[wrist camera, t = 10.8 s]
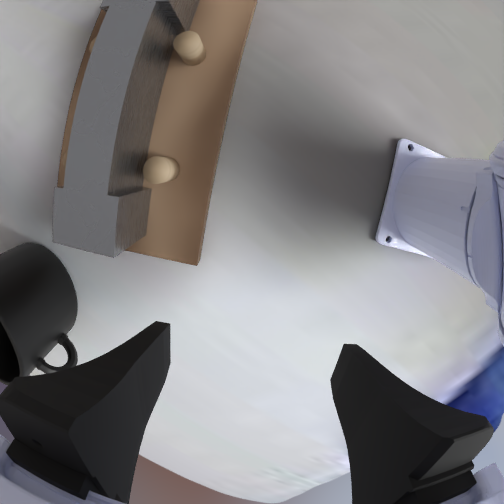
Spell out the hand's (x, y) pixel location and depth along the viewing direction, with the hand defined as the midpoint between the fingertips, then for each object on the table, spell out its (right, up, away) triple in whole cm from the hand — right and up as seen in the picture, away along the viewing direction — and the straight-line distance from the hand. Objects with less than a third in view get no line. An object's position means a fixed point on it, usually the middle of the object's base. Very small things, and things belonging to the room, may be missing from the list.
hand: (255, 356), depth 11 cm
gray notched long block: (-8, +14, +5) cm, 17 cm away
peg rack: (-8, +14, +6) cm, 17 cm away
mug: (-19, 0, +11) cm, 22 cm away
